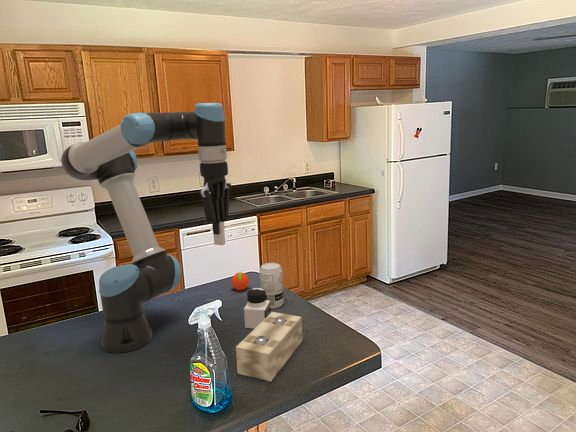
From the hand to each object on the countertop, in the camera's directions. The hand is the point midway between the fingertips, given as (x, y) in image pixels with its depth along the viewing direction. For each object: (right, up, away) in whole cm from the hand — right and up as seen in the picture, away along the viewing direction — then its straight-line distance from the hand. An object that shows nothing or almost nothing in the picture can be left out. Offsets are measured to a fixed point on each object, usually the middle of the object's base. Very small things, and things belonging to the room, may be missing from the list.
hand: (219, 244), depth 122 cm
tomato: (+1, -22, +49) cm, 54 cm away
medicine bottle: (+9, -28, +21) cm, 36 cm away
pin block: (+15, -32, +1) cm, 36 cm away
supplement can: (+14, -25, +35) cm, 45 cm away
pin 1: (+12, -33, -4) cm, 35 cm away
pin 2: (+17, -30, +7) cm, 35 cm away
